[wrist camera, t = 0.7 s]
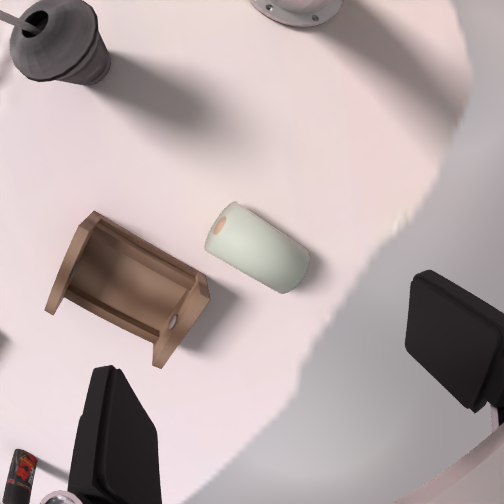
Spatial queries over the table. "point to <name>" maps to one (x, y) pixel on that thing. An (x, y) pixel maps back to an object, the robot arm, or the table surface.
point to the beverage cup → (58, 42)
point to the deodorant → (20, 478)
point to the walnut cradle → (130, 285)
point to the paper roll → (257, 249)
